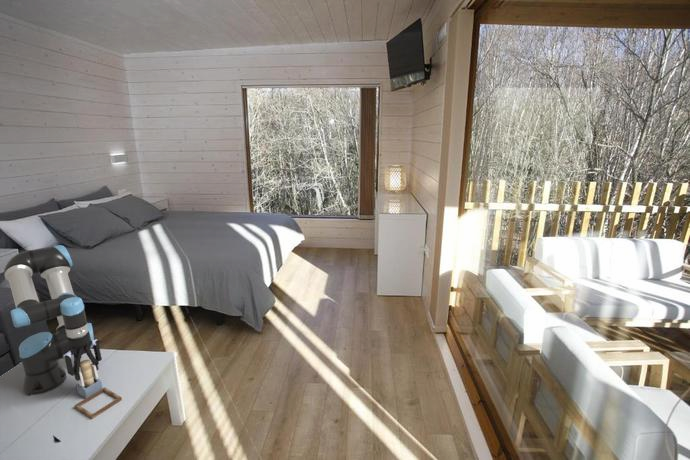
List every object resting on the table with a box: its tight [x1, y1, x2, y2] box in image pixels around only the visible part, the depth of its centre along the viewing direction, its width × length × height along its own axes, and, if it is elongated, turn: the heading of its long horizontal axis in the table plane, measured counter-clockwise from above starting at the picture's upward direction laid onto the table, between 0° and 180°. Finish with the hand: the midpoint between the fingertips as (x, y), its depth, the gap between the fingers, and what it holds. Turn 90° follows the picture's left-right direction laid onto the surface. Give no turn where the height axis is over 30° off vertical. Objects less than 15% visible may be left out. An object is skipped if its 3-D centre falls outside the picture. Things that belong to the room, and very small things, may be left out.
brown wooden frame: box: [74, 387, 123, 420], centre depth 156 cm, size 12×12×2 cm
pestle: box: [80, 359, 94, 388], centre depth 160 cm, size 4×4×15 cm
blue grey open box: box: [76, 377, 104, 399], centre depth 162 cm, size 7×7×5 cm
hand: (88, 381), depth 161 cm, fingers open, 5 cm apart
